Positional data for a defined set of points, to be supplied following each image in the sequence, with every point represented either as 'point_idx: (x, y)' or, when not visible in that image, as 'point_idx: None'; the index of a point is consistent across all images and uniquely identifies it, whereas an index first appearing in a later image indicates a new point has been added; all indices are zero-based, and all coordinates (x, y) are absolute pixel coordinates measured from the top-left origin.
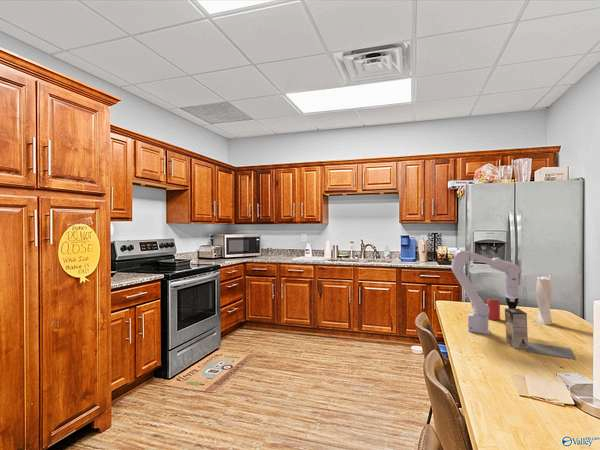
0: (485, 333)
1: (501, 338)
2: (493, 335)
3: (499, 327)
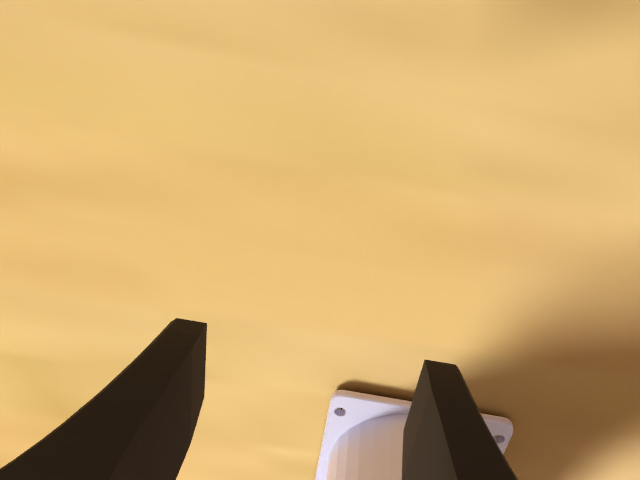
0: (505, 444)
1: (637, 326)
2: (527, 379)
3: (132, 268)
